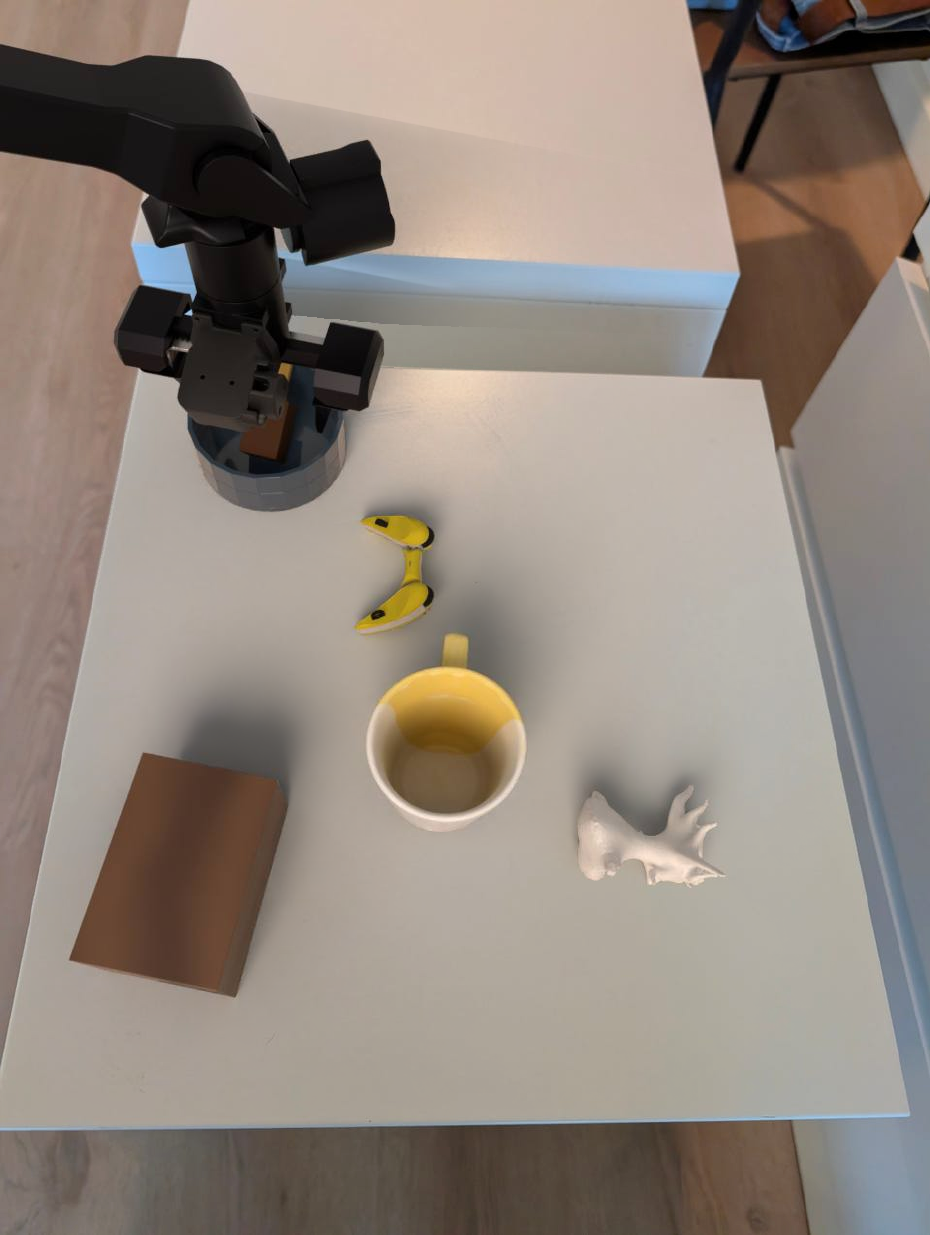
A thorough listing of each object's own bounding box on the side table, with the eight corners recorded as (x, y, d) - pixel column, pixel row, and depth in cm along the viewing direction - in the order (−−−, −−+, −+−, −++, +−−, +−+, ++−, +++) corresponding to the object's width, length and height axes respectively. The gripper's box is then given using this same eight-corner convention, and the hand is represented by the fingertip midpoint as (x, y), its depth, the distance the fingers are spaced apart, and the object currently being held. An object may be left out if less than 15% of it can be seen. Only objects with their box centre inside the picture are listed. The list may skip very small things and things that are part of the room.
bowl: (179, 495, 76) (166, 460, 72) (224, 381, 81) (214, 341, 77) (325, 524, 76) (320, 491, 71) (360, 408, 81) (358, 370, 77)
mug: (487, 872, 65) (503, 842, 55) (350, 829, 65) (343, 792, 56) (535, 699, 71) (557, 644, 61) (409, 661, 71) (411, 601, 62)
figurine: (560, 771, 67) (693, 746, 66) (579, 851, 70) (705, 829, 69) (573, 860, 58) (727, 833, 57) (594, 948, 61) (740, 924, 60)
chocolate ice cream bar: (248, 455, 78) (238, 450, 75) (271, 354, 77) (262, 345, 74) (284, 464, 77) (276, 459, 74) (308, 363, 77) (300, 354, 74)
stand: (102, 969, 60) (68, 960, 54) (166, 780, 66) (142, 752, 60) (235, 997, 60) (216, 991, 54) (288, 805, 66) (277, 779, 59)
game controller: (442, 632, 71) (427, 613, 68) (367, 642, 73) (349, 625, 70) (443, 522, 76) (428, 500, 73) (372, 535, 77) (355, 514, 74)
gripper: (53, 335, 57) (120, 476, 71) (344, 392, 57) (354, 523, 71) (115, 212, 62) (167, 367, 76) (384, 264, 62) (386, 410, 76)
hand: (266, 417), depth 75 cm, fingers open, 9 cm apart
